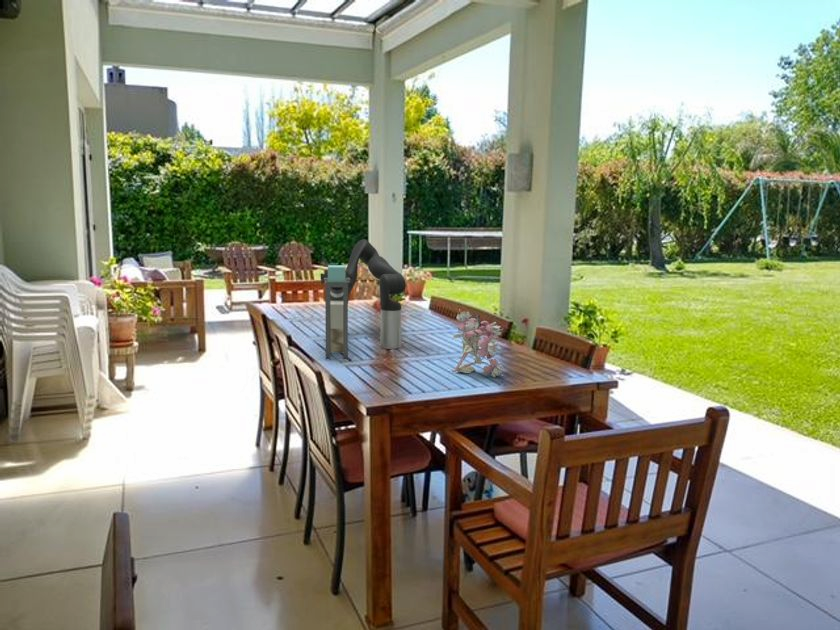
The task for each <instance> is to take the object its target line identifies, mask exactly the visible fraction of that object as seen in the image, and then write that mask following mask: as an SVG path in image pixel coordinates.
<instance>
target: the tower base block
mask: <svg viewBox="0 0 840 630" xmlns="http://www.w3.org/2000/svg"><path fill="white" fill-rule="evenodd" d="M331 352H333V353H343V329H331Z"/></svg>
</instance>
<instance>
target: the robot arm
mask: <svg viewBox="0 0 840 630" xmlns="http://www.w3.org/2000/svg"><path fill="white" fill-rule="evenodd" d="M359 261H361V262H362V263H364V264H365V265H366V266H367V267H368V271H369V272H370V274H372V276H373V277H375V278H376V279H378V280H379V297H380V298H379V301H380V302H379V303H380V341H379V342H380V346H379V347H380V348H381V349H387V350H388V349H389V350H393V349H394V350H396V349H402V330H403V329H402V303H401V302H398V301H395V300H393V299H392V298H391V297H390V296H391V295H400V294H403V293H404V292H405V291H406V287H407V283H406V280H405V277H404V276H403V274H402V273H400V272H399V271H397V270H396V269H395V268H394V267H392V265H390V264H389V262H388V261H387V260H386V259H385V258H384V257H383V256H381V255H380V254H379V252H378V250H377V248H375V246H373V245H372V244H371V243H370V242H369V240H367V239H365V238H363V239H360V240H358V241H357V243H356V244H355V245H354V246H353V248H352V251H351V254H350V256H349V259H348V263H347V266H346V267H345V279H348V302H349V301H350V295H351V292H352V290H353V288H354V286H355V285H356V283H357V280H358V266H359ZM326 279H328V269H325V270H324V273H322V272H321V273H320V282H321V284H322V285H325V282H326ZM330 301H343V287H330Z"/></svg>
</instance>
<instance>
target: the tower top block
mask: <svg viewBox="0 0 840 630" xmlns="http://www.w3.org/2000/svg"><path fill="white" fill-rule="evenodd" d="M330 308H331V329H343V301H330Z"/></svg>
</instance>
